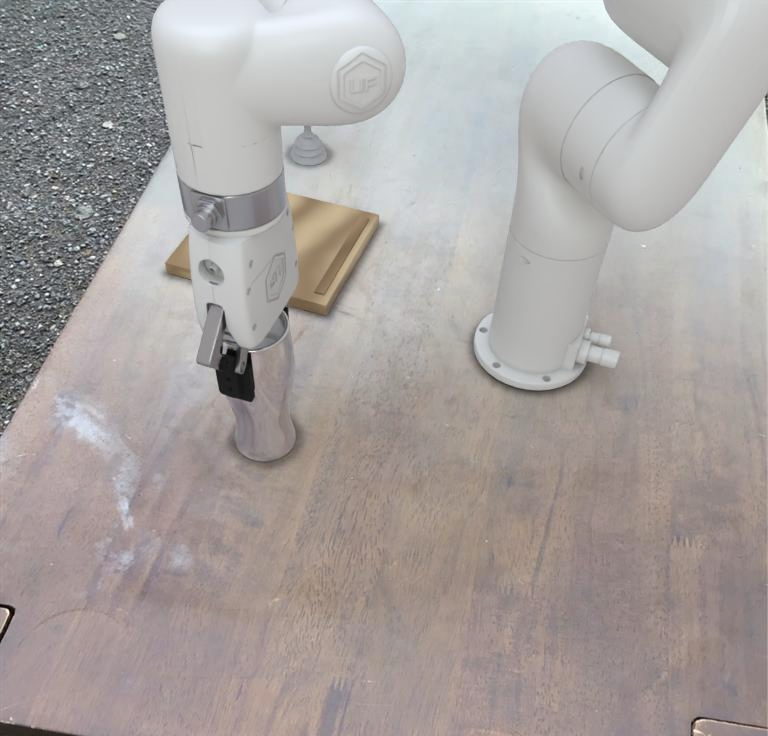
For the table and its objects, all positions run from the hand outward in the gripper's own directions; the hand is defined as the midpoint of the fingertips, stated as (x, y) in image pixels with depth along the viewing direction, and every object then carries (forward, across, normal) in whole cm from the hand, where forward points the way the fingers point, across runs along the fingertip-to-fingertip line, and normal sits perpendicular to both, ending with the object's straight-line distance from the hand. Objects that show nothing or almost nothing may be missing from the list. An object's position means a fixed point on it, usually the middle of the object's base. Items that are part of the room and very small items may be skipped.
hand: (256, 365), depth 73 cm
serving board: (+10, +28, +11) cm, 32 cm away
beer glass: (+10, 0, 0) cm, 10 cm away
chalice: (+10, +48, +15) cm, 51 cm away
